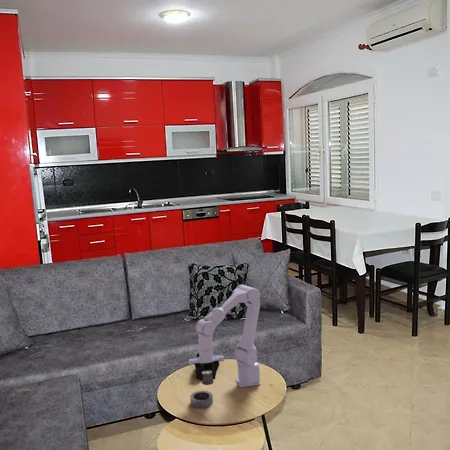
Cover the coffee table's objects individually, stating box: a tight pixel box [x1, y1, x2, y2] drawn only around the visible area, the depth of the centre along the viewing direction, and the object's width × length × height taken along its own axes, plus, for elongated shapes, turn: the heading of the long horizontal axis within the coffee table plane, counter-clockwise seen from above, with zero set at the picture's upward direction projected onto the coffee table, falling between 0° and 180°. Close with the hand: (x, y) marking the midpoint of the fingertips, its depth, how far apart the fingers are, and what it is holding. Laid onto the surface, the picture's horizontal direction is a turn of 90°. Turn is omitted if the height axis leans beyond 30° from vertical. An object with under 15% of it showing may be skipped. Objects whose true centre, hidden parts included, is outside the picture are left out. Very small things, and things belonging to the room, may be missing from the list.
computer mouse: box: [201, 371, 215, 386], centre depth 196 cm, size 5×5×4 cm
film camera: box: [195, 352, 213, 380], centre depth 220 cm, size 15×10×9 cm, turn 179°
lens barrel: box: [190, 390, 214, 410], centre depth 193 cm, size 9×9×3 cm
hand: (207, 378), depth 196 cm, fingers closed on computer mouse, 5 cm apart
